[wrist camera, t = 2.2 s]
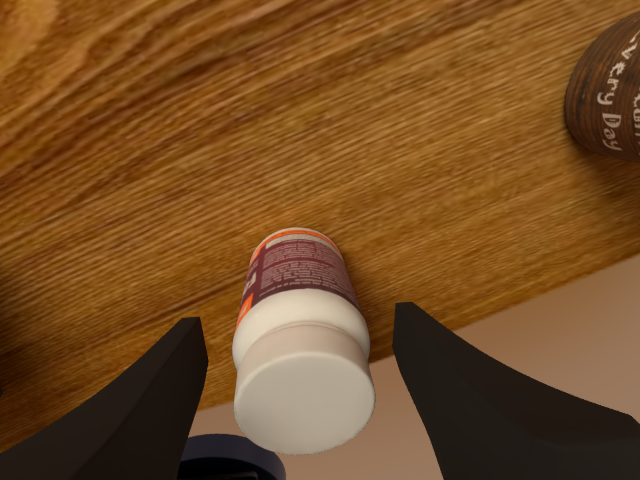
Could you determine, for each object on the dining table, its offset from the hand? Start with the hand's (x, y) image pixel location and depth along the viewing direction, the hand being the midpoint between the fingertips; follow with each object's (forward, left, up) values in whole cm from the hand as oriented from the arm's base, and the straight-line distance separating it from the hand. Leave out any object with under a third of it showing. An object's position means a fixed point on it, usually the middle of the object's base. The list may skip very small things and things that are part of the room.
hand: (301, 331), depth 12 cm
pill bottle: (0, 0, -5) cm, 5 cm away
